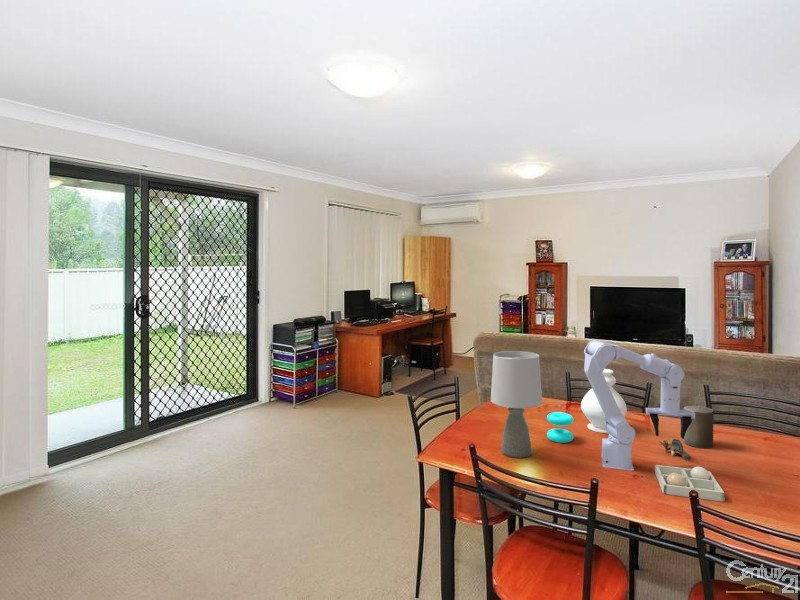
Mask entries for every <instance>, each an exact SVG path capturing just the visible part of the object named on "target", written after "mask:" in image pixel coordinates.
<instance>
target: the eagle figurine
mask: <svg viewBox="0 0 800 600" xmlns="http://www.w3.org/2000/svg"><path fill="white" fill-rule="evenodd" d="M658 441H659V444H660V445H663V447H664V449H665V452H667V453H668V451H669V450H670V454H671V455H670V457H673V456H675V452H677V453H678V454H680V455H681V456H682V458H683V459H684V460H686V461H691V460H692V457H691V455H690V454H689V453H688V452H687V451H686V450H684V446H683V443H682V442H681V440H679V439H676V438H674V439H672V438H671V437H670V441H671V443H669V442H668V441H667V440H664V439H663V442H661V440H658Z"/></svg>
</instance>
